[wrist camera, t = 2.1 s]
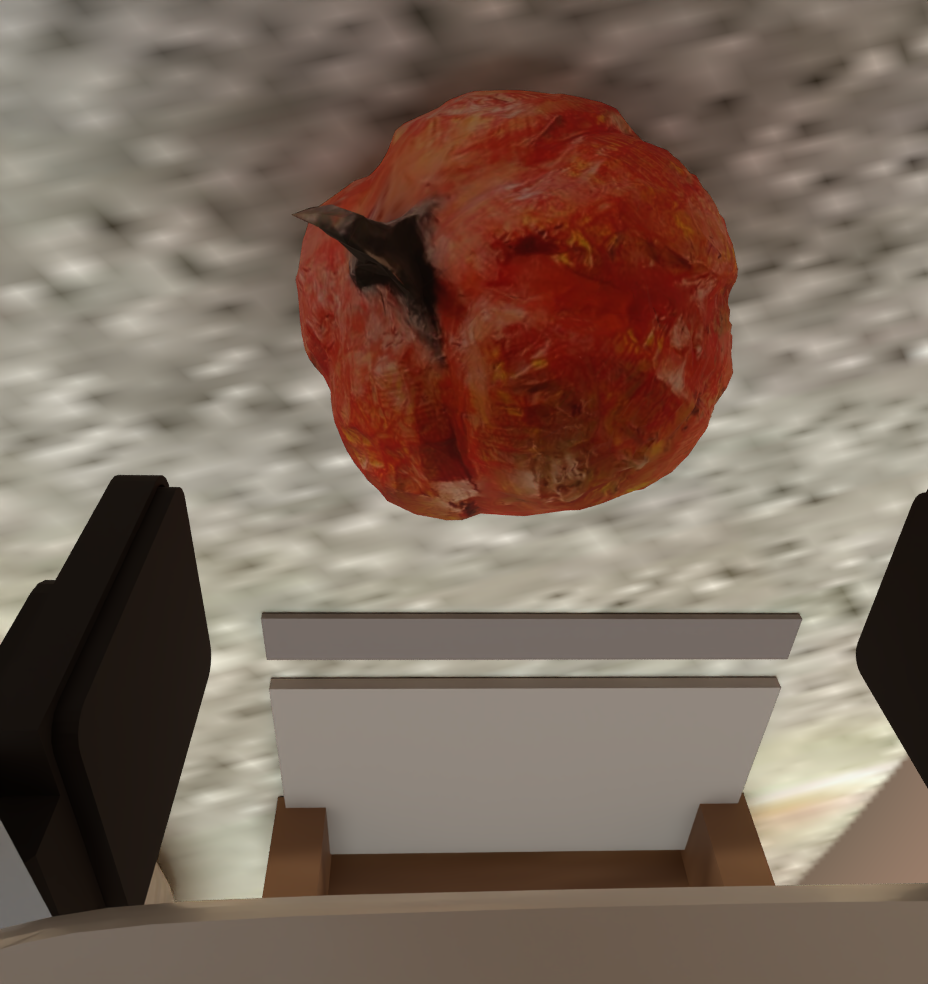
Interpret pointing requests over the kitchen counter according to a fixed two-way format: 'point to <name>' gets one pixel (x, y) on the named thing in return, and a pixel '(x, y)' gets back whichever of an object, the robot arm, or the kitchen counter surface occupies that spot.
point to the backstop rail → (513, 862)
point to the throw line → (528, 636)
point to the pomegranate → (518, 308)
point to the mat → (516, 759)
